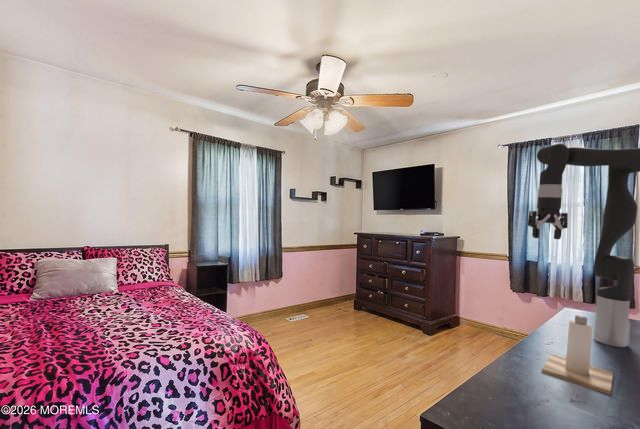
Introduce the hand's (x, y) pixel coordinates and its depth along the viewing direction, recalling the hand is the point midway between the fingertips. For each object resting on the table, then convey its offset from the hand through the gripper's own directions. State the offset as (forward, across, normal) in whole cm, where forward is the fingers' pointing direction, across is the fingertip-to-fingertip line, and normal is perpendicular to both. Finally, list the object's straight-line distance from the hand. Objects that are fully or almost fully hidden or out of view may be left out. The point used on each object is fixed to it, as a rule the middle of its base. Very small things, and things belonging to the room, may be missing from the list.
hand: (546, 238), depth 122 cm
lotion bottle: (+37, -11, -29) cm, 48 cm away
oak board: (+38, -11, -29) cm, 49 cm away
